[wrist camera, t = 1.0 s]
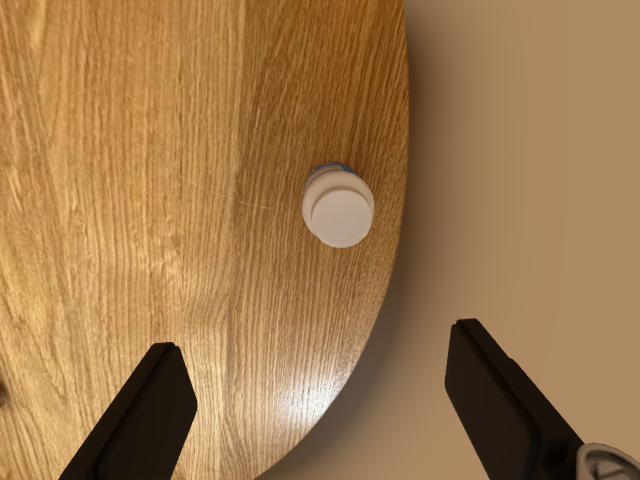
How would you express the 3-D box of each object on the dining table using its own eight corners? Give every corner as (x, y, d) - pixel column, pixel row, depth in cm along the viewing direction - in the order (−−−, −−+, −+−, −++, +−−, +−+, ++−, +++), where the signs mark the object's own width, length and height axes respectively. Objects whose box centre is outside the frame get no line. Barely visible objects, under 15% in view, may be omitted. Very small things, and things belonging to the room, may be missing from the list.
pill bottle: (367, 205, 29) (393, 244, 20) (316, 224, 29) (318, 270, 20) (349, 150, 27) (369, 166, 18) (294, 172, 27) (287, 198, 18)
